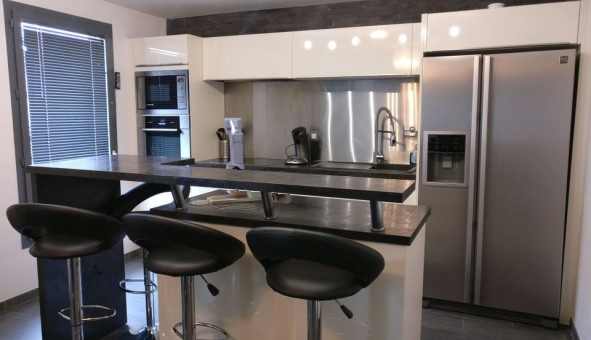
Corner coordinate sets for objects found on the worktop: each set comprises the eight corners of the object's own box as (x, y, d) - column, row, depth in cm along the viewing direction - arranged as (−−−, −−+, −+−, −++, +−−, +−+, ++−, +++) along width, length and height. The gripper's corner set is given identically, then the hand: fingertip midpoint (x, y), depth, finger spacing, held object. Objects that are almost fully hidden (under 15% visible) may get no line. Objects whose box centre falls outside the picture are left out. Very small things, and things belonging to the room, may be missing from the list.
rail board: (206, 200, 240) (206, 195, 240) (259, 195, 253) (259, 190, 252) (211, 204, 231) (211, 198, 231) (266, 199, 244) (266, 194, 243)
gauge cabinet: (246, 194, 248) (246, 187, 248) (258, 193, 251) (258, 186, 250) (251, 197, 241) (251, 190, 240) (263, 196, 244) (263, 189, 243)
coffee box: (270, 202, 236) (270, 172, 234) (275, 200, 242) (275, 170, 240) (287, 204, 233) (287, 173, 231) (291, 201, 239) (291, 171, 237)
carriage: (231, 196, 243) (231, 182, 242) (243, 194, 246) (243, 182, 245) (234, 198, 238) (234, 184, 237) (247, 197, 241) (247, 183, 240)
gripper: (226, 154, 246) (226, 178, 248) (234, 157, 233) (235, 183, 235) (238, 153, 249) (238, 177, 251) (247, 156, 236) (248, 182, 238)
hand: (238, 180), depth 243 cm, fingers closed
